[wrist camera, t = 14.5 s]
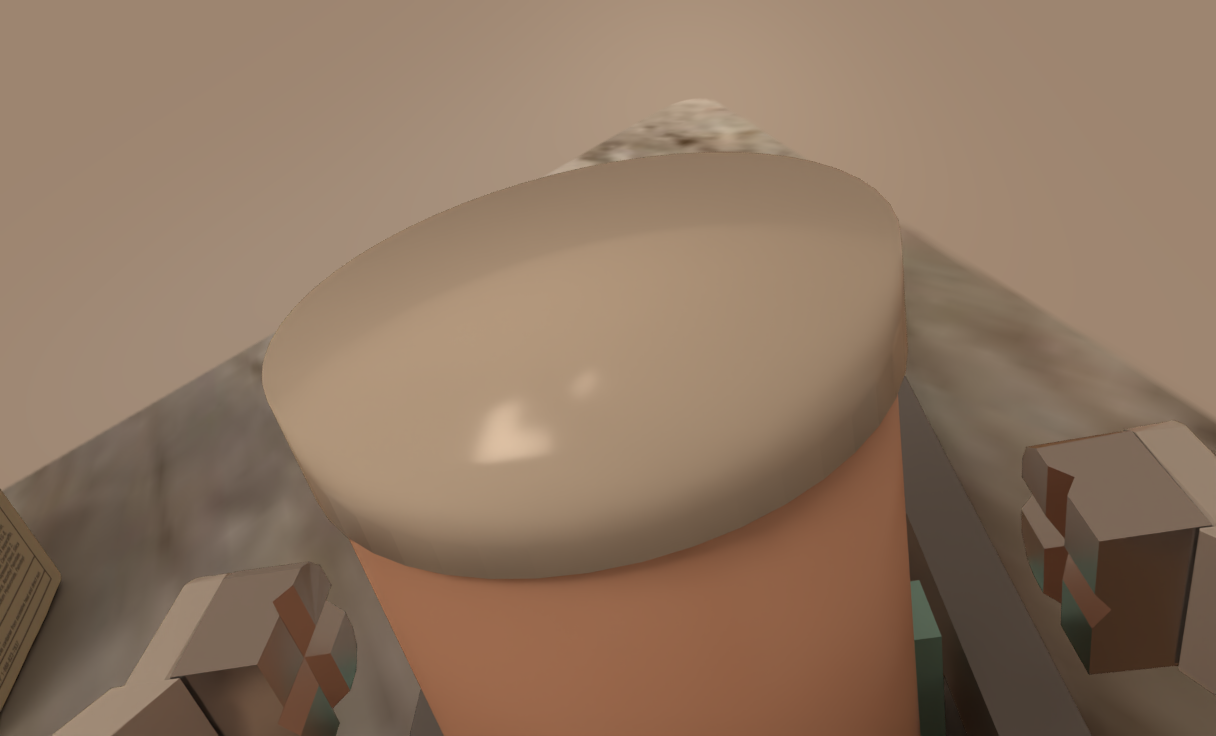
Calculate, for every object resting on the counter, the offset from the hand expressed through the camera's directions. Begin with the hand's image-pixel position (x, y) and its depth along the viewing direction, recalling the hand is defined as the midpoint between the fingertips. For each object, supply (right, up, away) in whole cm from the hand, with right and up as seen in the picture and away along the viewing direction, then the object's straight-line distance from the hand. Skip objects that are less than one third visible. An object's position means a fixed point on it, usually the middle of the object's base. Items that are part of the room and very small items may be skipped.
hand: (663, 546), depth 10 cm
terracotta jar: (+1, -6, +3) cm, 7 cm away
